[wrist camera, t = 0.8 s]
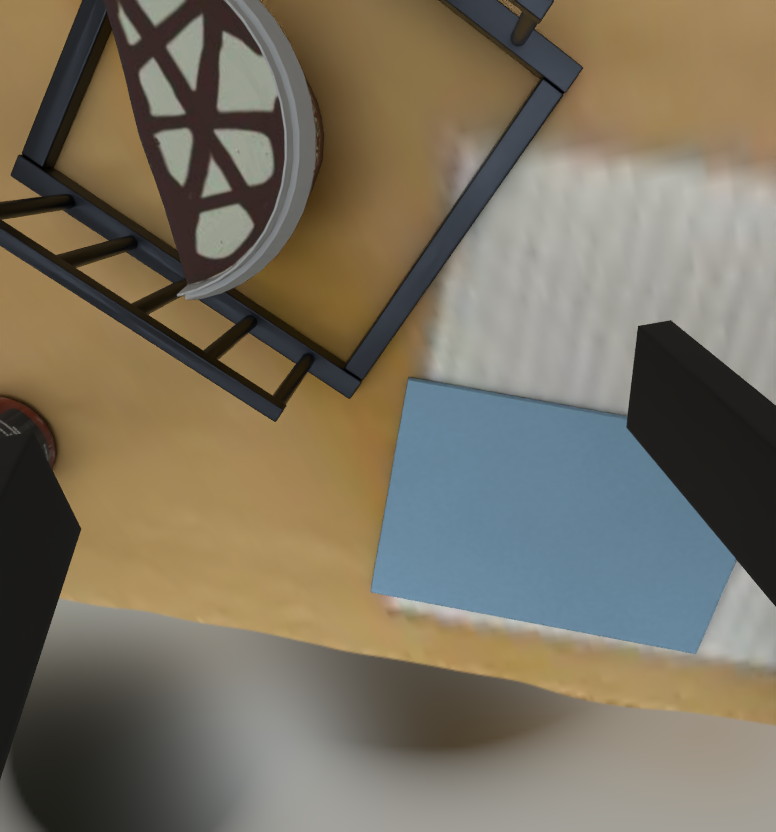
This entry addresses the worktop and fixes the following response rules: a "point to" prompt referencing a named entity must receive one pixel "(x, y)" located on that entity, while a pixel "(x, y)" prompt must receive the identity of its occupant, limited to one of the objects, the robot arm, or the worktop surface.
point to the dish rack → (60, 193)
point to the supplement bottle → (26, 425)
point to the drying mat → (543, 520)
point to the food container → (220, 130)
